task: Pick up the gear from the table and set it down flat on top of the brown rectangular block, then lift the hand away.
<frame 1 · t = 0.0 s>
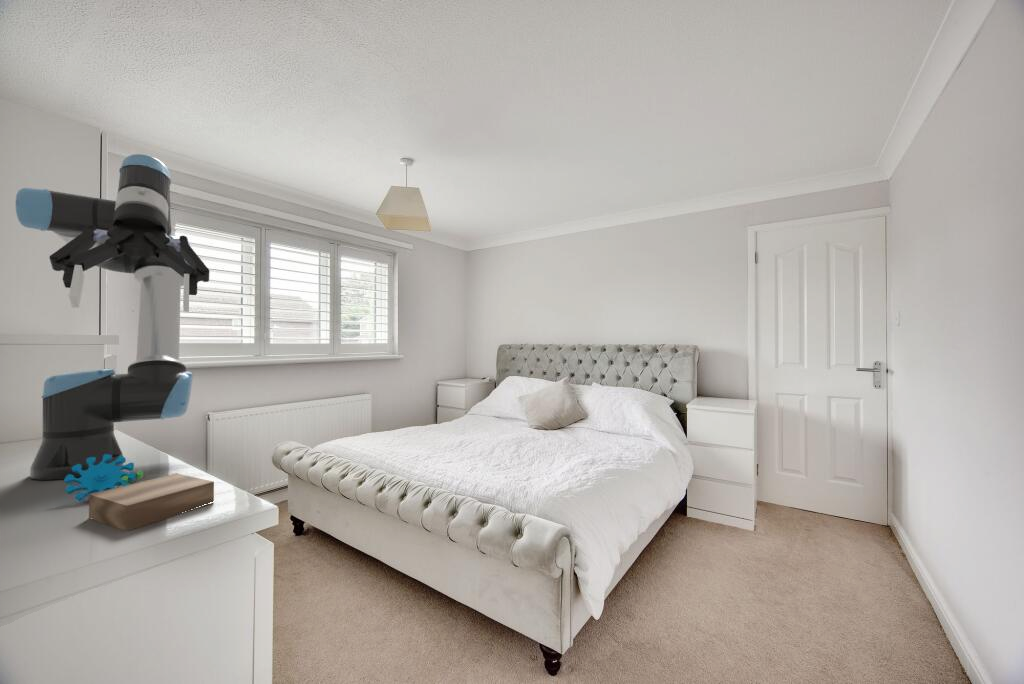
hand: (133, 304, 69), 36 cm above the table, tool tilted 35°, fingers open, 13 cm apart
brown rectangular block: (154, 510, 75), on the table
gear: (105, 497, 82), on the table
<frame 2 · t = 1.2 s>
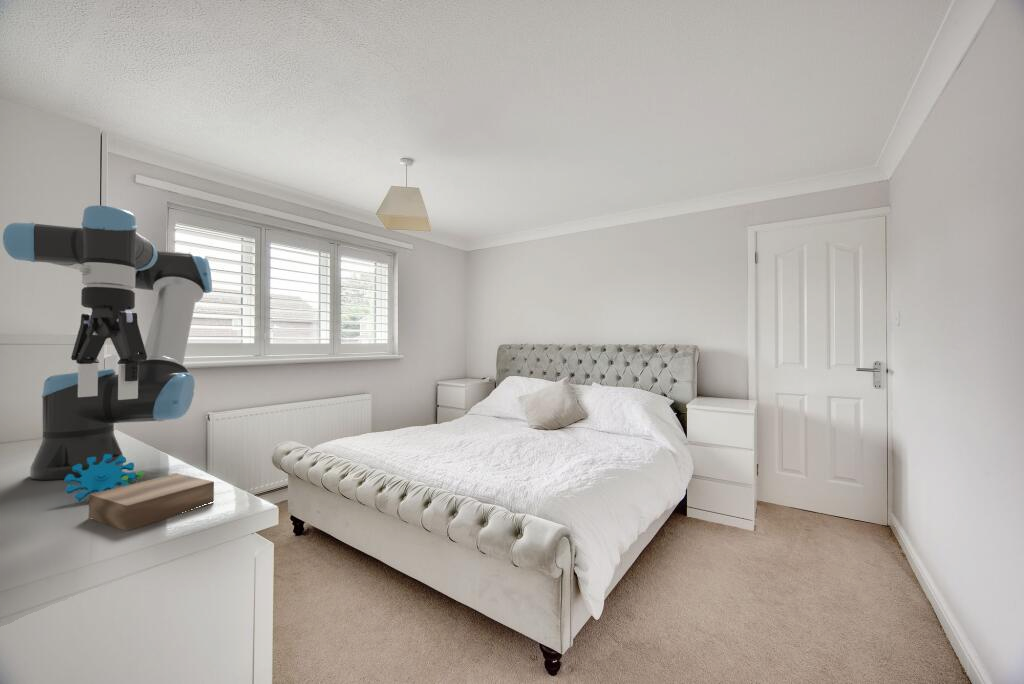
hand: (107, 398, 82), 19 cm above the table, tool pointing down, fingers open, 13 cm apart
nothing on the table moved.
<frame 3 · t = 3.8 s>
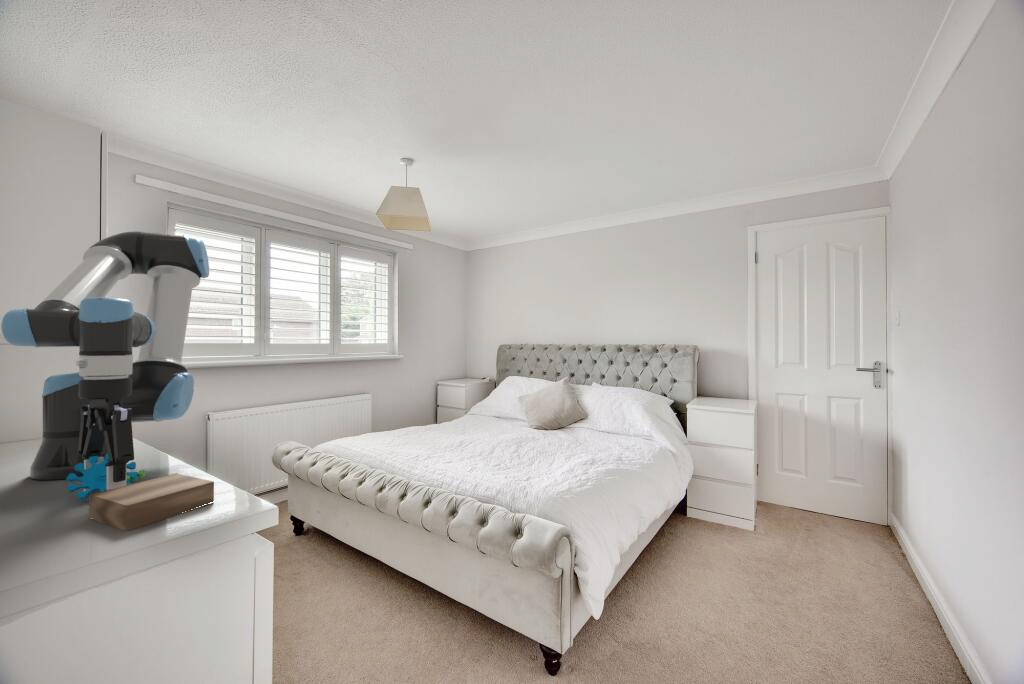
hand: (104, 494, 82), 0 cm above the table, tool pointing down, fingers closed on gear, 8 cm apart
gear: (107, 496, 82), on the table, touching gripper
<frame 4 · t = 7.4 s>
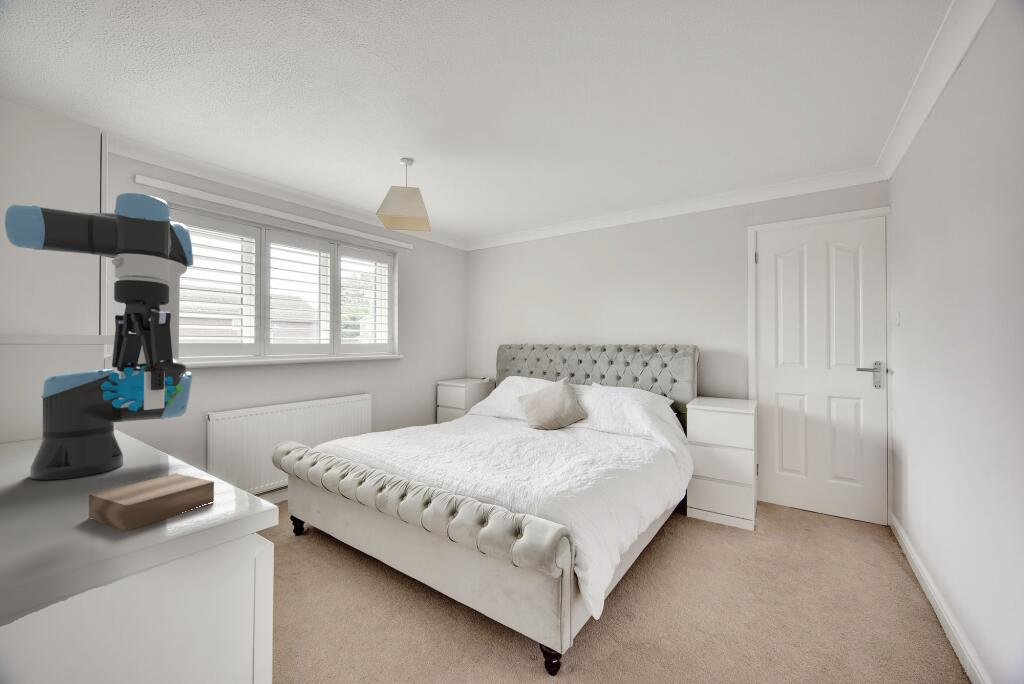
hand: (141, 407, 76), 18 cm above the table, tool pointing down, fingers closed on gear, 8 cm apart
gear: (143, 409, 76), point 18 cm above the table, touching gripper
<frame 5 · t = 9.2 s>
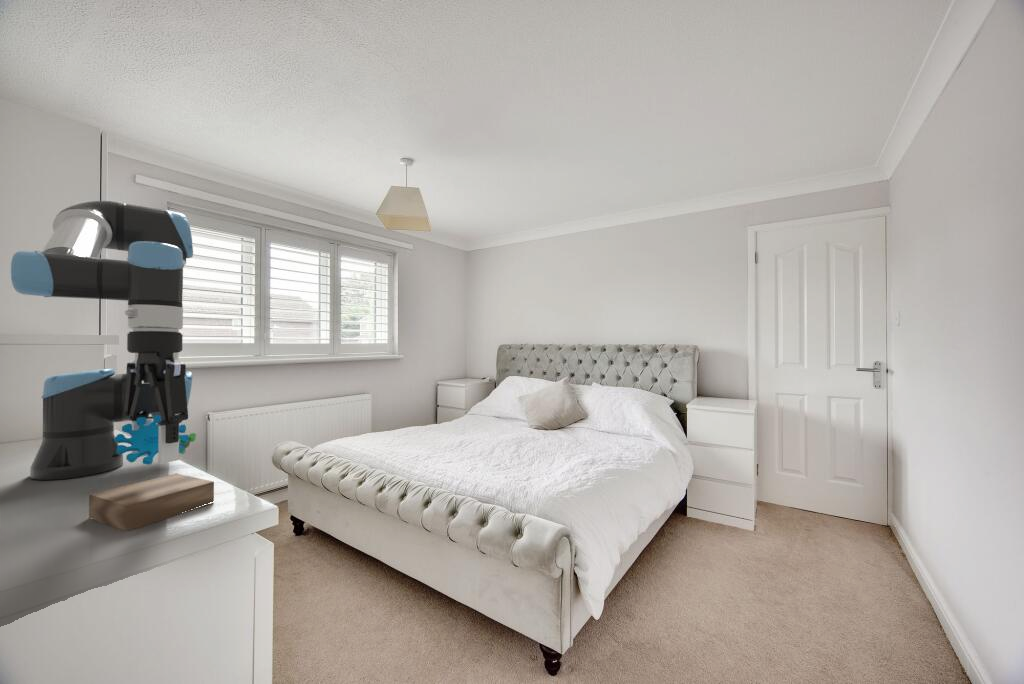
hand: (154, 458, 75), 9 cm above the table, tool pointing down, fingers closed on gear, 8 cm apart
gear: (156, 460, 75), point 9 cm above the table, touching gripper
when the fingers open (6 cm above the table, at t = 10.6 s): gear drops 2 cm, resting on brown rectangular block.
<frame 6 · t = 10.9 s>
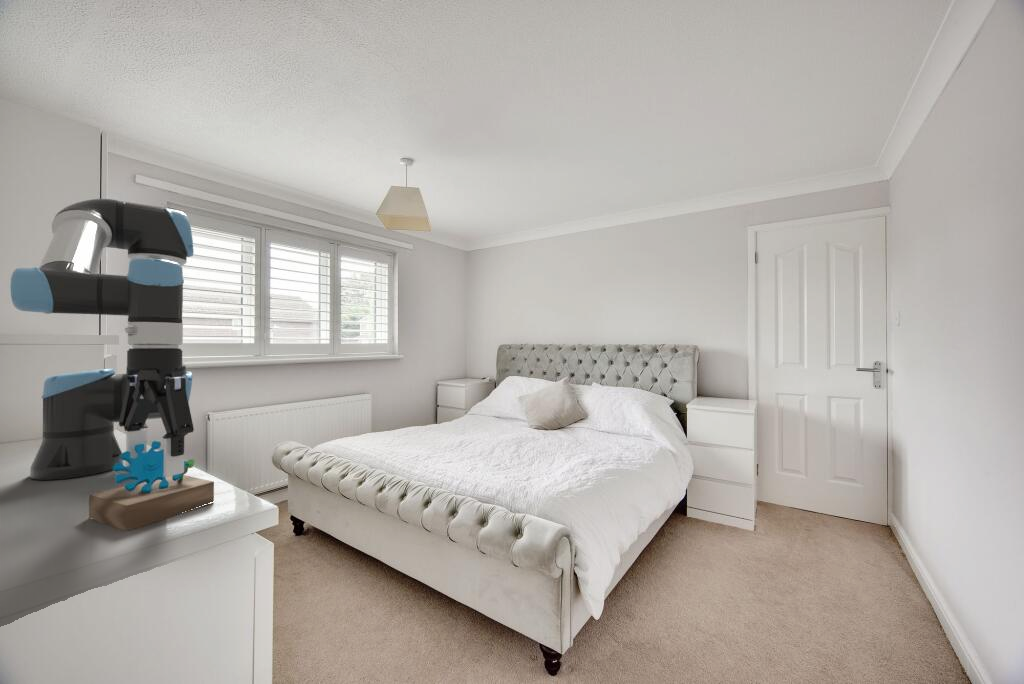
hand: (154, 470, 75), 7 cm above the table, tool pointing down, fingers open, 11 cm apart
gear: (155, 488, 75), point 4 cm above the table, touching brown rectangular block
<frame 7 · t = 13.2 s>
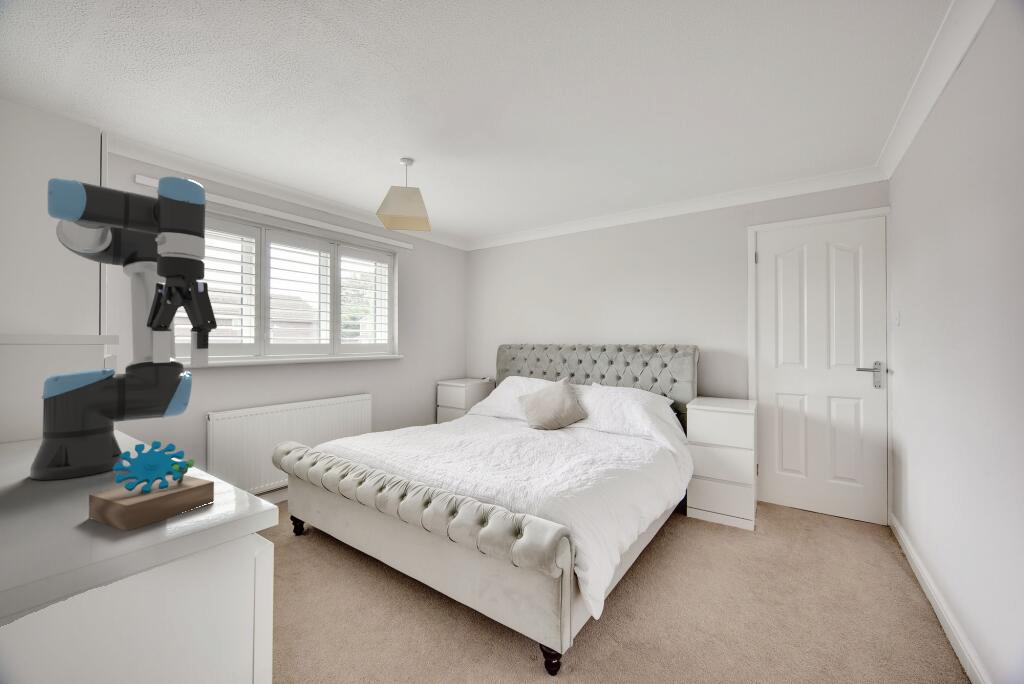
hand: (179, 364, 85), 25 cm above the table, tool pointing down, fingers open, 13 cm apart
nothing on the table moved.
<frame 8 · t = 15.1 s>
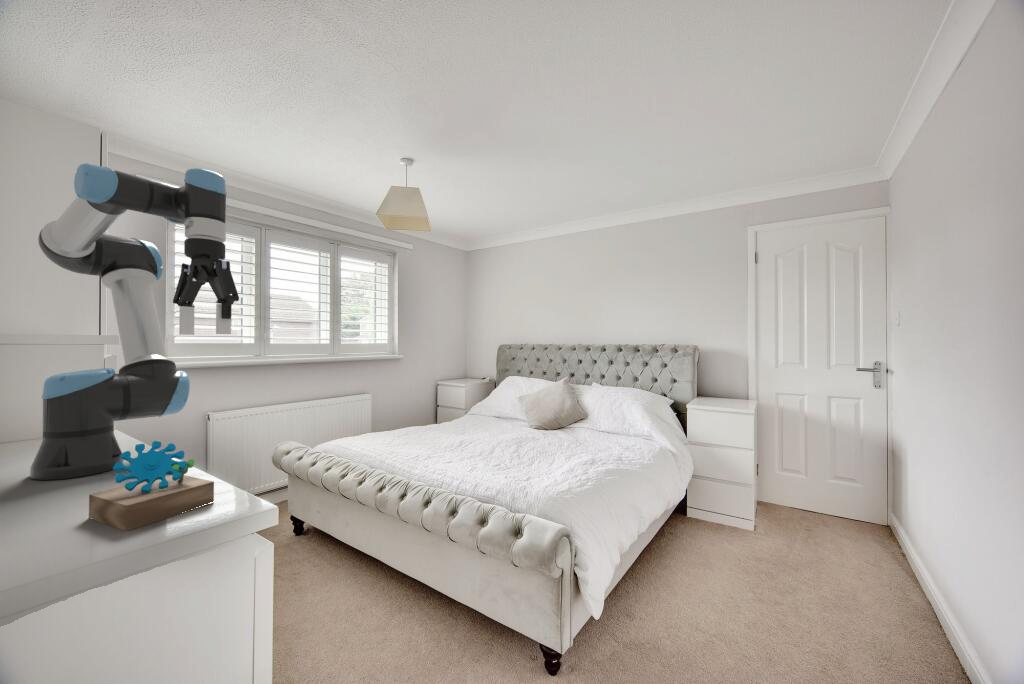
hand: (204, 334, 96), 32 cm above the table, tool pointing down, fingers open, 13 cm apart
nothing on the table moved.
at the end: gear 0.6 cm off-centre on the brown rectangular block, point 3.8 cm above the brown rectangular block's base; gear tilted 1°; the gripper is holding nothing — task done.
